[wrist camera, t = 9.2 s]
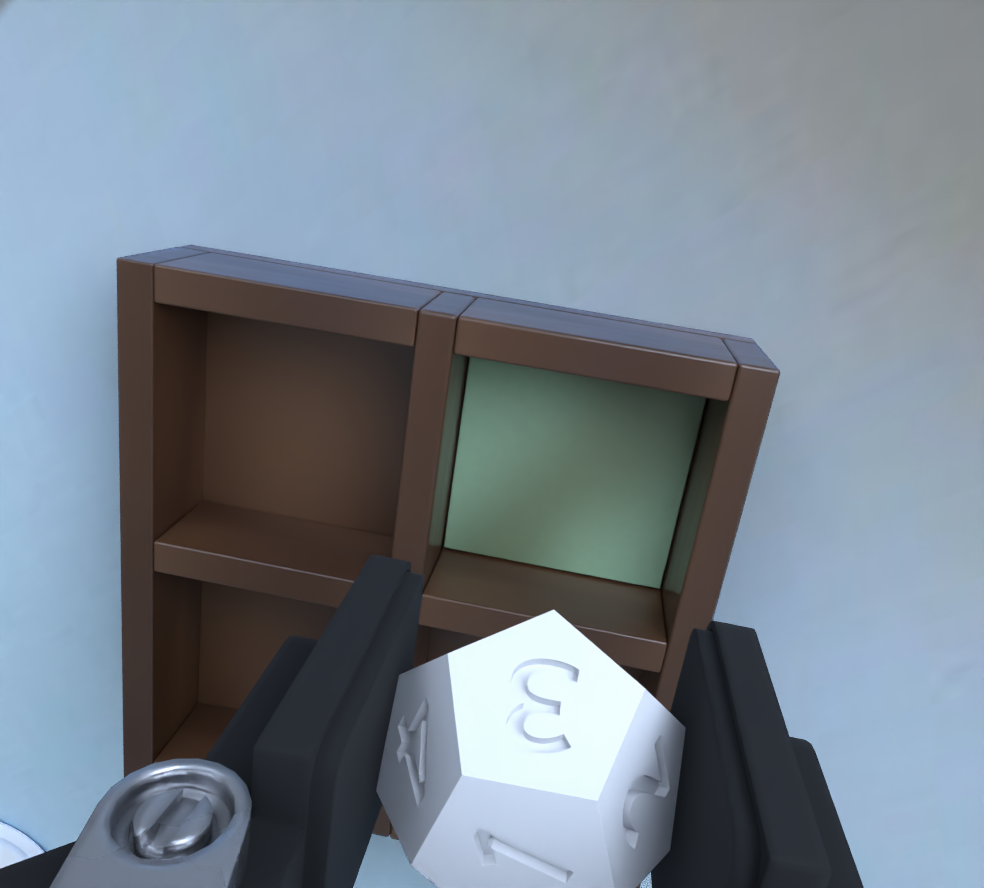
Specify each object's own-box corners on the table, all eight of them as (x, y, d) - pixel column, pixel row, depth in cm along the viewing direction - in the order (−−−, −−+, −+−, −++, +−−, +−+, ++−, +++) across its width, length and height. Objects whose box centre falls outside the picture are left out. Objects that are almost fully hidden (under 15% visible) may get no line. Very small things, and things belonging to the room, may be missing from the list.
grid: (182, 705, 24) (123, 779, 21) (189, 244, 19) (115, 257, 16) (634, 802, 23) (638, 894, 20) (754, 338, 18) (782, 370, 15)
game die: (603, 828, 12) (600, 1036, 9) (371, 719, 12) (296, 895, 9) (727, 644, 11) (770, 818, 8) (469, 521, 10) (419, 652, 8)
